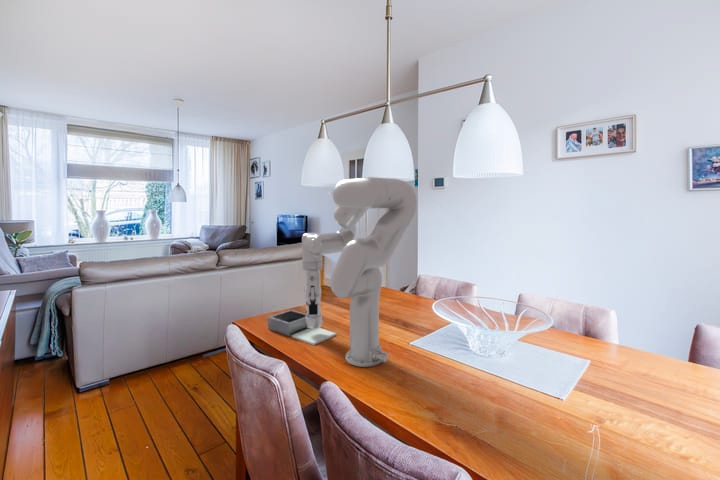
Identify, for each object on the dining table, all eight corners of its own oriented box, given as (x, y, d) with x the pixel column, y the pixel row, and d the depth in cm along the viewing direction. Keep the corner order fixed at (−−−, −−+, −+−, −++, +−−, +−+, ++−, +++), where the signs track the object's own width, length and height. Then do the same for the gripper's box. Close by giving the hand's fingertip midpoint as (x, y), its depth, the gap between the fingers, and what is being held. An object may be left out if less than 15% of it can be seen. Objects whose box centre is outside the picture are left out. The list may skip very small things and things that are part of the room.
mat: (336, 335, 130) (336, 333, 130) (313, 345, 120) (313, 343, 120) (314, 328, 137) (314, 326, 137) (291, 337, 128) (291, 335, 128)
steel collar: (312, 327, 138) (312, 315, 138) (289, 336, 129) (288, 324, 128) (291, 320, 146) (291, 309, 146) (268, 328, 137) (267, 317, 136)
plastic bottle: (322, 330, 126) (321, 278, 124) (304, 331, 125) (303, 278, 123) (322, 324, 132) (321, 274, 130) (305, 325, 131) (304, 275, 129)
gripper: (322, 269, 118) (323, 319, 120) (322, 261, 135) (323, 304, 137) (301, 269, 117) (302, 319, 119) (303, 261, 134) (304, 305, 136)
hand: (313, 311), depth 128 cm, fingers closed on plastic bottle, 5 cm apart
